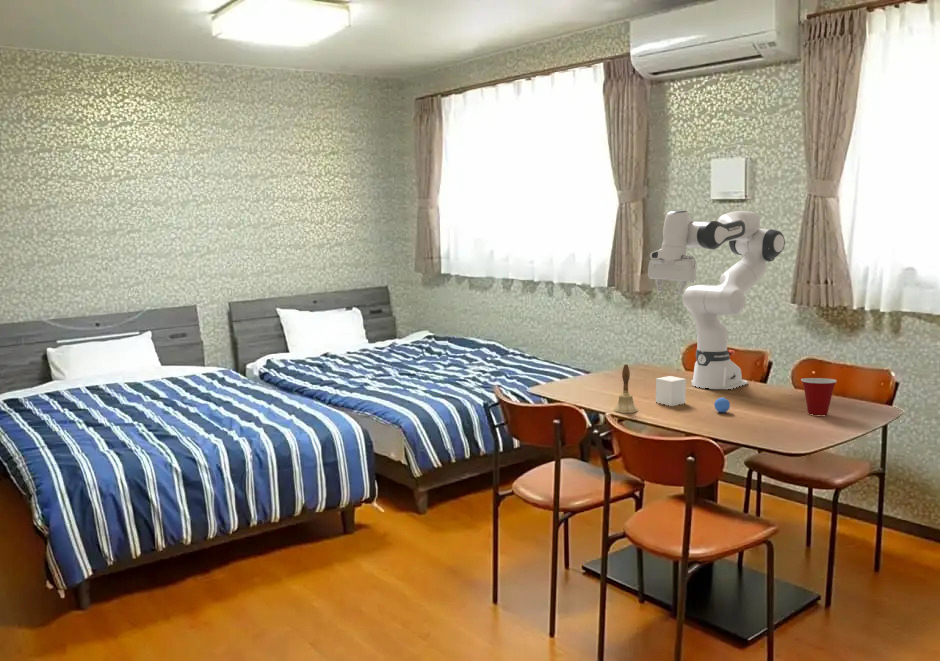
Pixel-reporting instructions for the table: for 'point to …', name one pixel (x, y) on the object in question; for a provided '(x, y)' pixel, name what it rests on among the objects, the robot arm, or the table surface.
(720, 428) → the table surface
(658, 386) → the white cube block
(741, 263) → the robot arm
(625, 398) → the hand bell
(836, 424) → the table surface
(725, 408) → the ball
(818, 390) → the plastic cup
